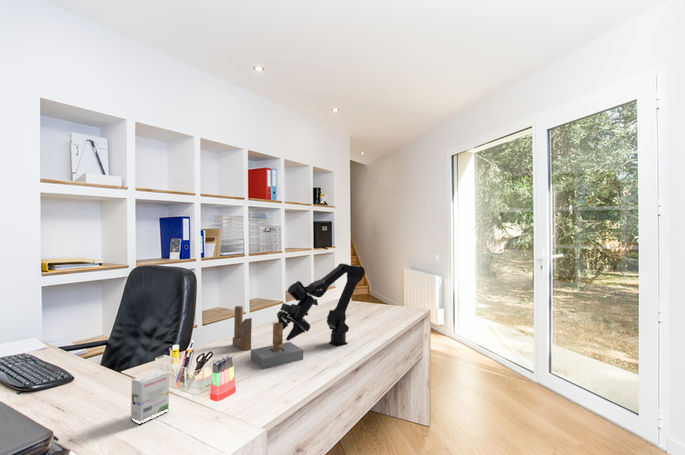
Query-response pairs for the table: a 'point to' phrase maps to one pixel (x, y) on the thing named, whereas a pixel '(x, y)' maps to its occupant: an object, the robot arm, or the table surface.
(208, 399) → the table surface
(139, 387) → the ink box
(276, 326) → the teak leg
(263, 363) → the seat board
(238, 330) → the wooden block
